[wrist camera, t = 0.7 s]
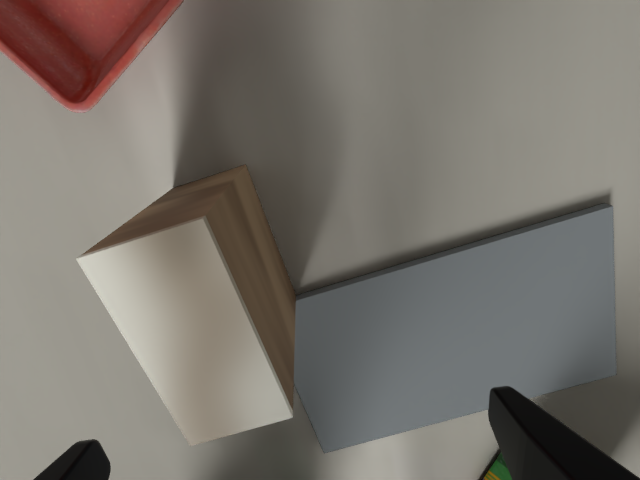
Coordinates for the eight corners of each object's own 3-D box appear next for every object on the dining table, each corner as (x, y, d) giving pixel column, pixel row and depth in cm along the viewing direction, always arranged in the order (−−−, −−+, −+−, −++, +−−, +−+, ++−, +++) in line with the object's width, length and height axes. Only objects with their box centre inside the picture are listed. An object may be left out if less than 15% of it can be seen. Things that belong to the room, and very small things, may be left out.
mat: (323, 445, 26) (324, 453, 26) (263, 305, 22) (262, 310, 22) (609, 368, 25) (616, 374, 25) (604, 203, 21) (612, 206, 20)
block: (231, 314, 22) (190, 446, 14) (173, 188, 19) (76, 258, 11) (295, 294, 22) (292, 417, 14) (245, 164, 19) (202, 218, 11)
